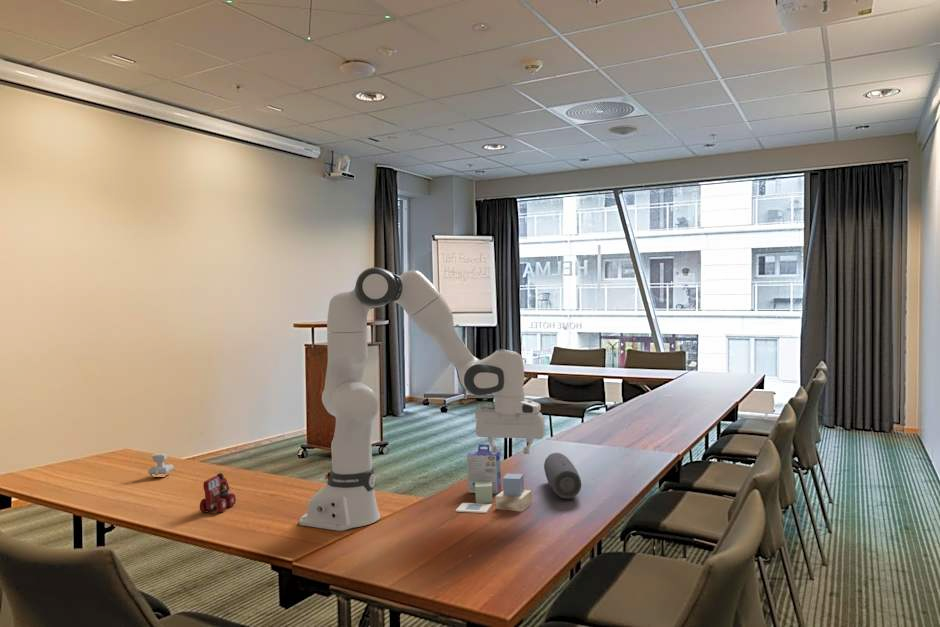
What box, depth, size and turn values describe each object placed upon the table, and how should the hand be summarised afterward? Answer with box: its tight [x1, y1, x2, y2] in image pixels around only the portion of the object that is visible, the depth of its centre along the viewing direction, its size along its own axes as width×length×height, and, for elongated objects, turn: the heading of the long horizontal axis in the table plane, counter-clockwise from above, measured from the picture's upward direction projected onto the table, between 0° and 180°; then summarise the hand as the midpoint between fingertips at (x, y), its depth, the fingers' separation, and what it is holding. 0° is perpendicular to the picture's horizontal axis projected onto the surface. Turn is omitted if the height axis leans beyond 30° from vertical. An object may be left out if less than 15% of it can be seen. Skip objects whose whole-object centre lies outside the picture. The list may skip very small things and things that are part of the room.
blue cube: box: [502, 473, 525, 496], centre depth 188 cm, size 5×5×5 cm
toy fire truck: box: [199, 472, 237, 513], centre depth 197 cm, size 7×12×10 cm, turn 172°
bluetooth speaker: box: [543, 452, 582, 499], centre depth 200 cm, size 23×9×10 cm, turn 0°
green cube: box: [474, 481, 494, 504], centre depth 194 cm, size 5×5×5 cm
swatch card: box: [455, 502, 493, 514], centre depth 187 cm, size 9×7×1 cm
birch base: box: [495, 489, 533, 512], centre depth 188 cm, size 8×8×4 cm
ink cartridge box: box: [466, 444, 502, 495], centre depth 203 cm, size 10×6×14 cm, turn 75°
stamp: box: [147, 452, 175, 476], centre depth 240 cm, size 9×7×8 cm
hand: (510, 453), depth 187 cm, fingers open, 8 cm apart
